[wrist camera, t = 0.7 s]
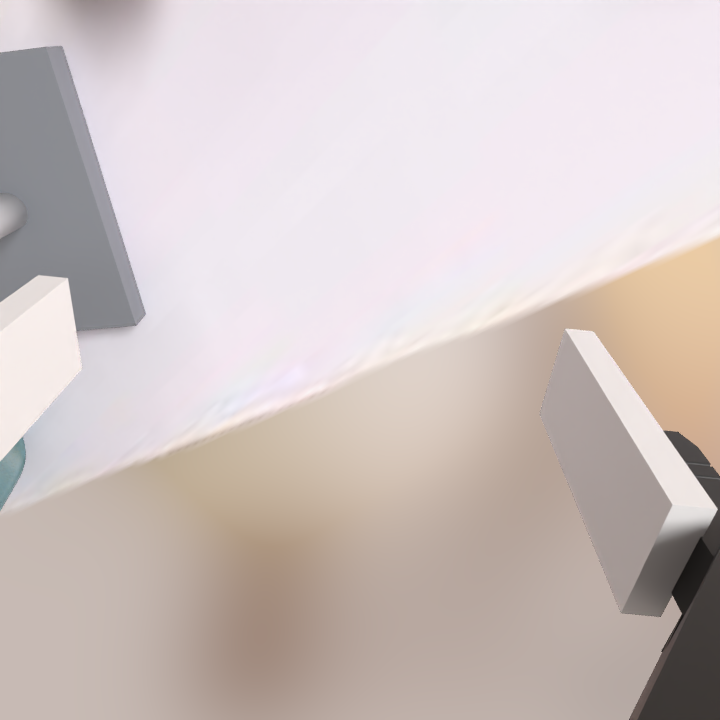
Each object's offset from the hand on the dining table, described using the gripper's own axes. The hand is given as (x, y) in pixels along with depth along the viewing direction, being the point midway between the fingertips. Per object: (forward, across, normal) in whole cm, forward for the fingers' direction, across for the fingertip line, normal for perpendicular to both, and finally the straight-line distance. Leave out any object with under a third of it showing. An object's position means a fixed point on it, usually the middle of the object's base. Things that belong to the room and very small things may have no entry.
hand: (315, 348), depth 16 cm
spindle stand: (+26, -22, -5) cm, 35 cm away
